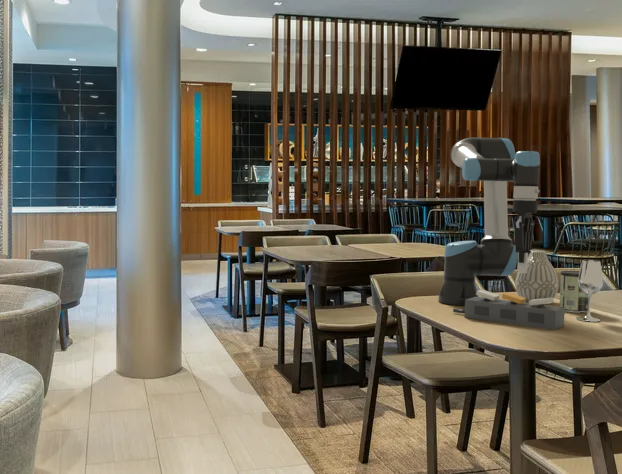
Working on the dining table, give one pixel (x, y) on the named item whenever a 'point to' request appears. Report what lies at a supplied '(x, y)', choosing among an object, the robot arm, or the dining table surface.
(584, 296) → the coffee can
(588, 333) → the dining table surface
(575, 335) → the dining table surface
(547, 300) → the block
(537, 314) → the power strip
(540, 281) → the vase
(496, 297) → the block
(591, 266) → the wineglass
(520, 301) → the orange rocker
